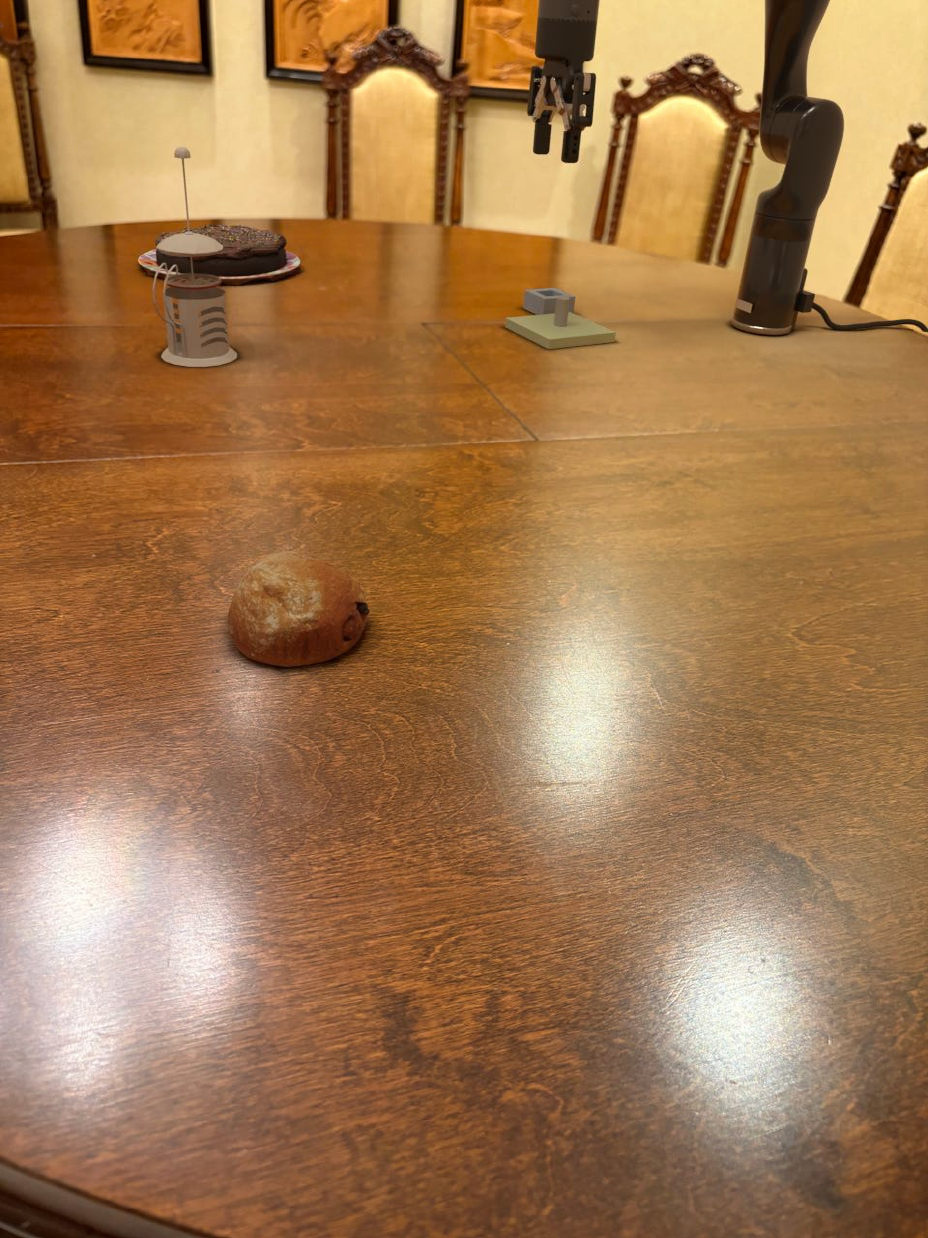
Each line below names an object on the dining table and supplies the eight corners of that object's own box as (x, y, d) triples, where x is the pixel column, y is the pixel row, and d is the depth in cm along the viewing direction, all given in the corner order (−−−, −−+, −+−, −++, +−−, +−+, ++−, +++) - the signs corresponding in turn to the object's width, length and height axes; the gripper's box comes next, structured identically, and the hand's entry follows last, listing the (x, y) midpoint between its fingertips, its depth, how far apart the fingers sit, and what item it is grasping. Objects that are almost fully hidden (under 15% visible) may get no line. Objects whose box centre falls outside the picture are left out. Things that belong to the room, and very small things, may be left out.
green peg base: (568, 321, 154) (573, 285, 151) (614, 342, 146) (619, 304, 143) (504, 327, 149) (507, 290, 146) (548, 349, 140) (552, 310, 137)
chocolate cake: (103, 270, 164) (98, 229, 161) (201, 244, 187) (198, 207, 183) (245, 294, 156) (242, 251, 153) (329, 264, 179) (329, 226, 175)
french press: (252, 352, 130) (240, 147, 117) (197, 375, 121) (178, 155, 108) (193, 340, 134) (175, 139, 120) (135, 361, 125) (109, 146, 111)
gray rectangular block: (552, 305, 162) (554, 287, 161) (573, 315, 158) (575, 296, 156) (522, 308, 159) (524, 289, 158) (542, 317, 155) (544, 298, 154)
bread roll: (263, 635, 79) (214, 556, 74) (379, 589, 77) (335, 506, 73) (251, 709, 70) (194, 625, 66) (380, 659, 69) (330, 570, 65)
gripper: (622, 19, 117) (605, 166, 126) (568, 16, 128) (555, 151, 137) (567, 15, 114) (553, 165, 123) (516, 13, 125) (507, 151, 134)
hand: (554, 158), depth 130 cm, fingers open, 8 cm apart
